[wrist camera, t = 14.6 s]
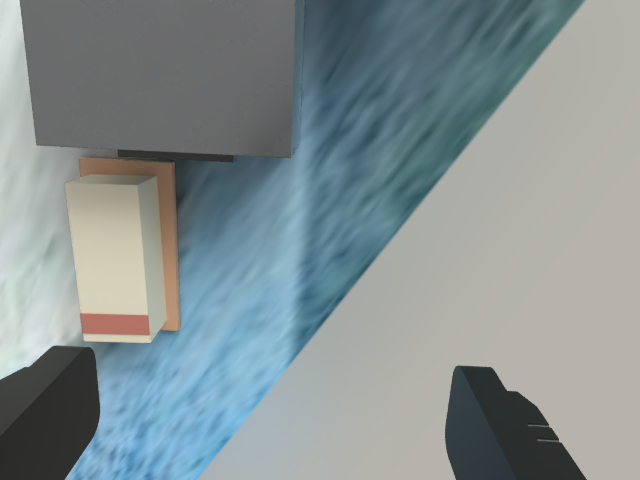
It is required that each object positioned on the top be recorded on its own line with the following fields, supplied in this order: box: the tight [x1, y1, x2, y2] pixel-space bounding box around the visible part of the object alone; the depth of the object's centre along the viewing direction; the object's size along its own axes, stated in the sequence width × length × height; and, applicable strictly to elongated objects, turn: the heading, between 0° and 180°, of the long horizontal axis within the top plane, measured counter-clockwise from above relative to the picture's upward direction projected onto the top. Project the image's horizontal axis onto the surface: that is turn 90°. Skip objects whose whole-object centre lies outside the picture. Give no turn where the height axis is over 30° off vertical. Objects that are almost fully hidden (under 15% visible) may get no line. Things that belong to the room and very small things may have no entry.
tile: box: [79, 157, 181, 331], centre depth 39 cm, size 14×7×1 cm, turn 177°
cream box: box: [64, 174, 167, 343], centre depth 37 cm, size 12×5×4 cm, turn 178°
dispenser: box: [20, 0, 305, 162], centre depth 30 cm, size 13×14×10 cm
